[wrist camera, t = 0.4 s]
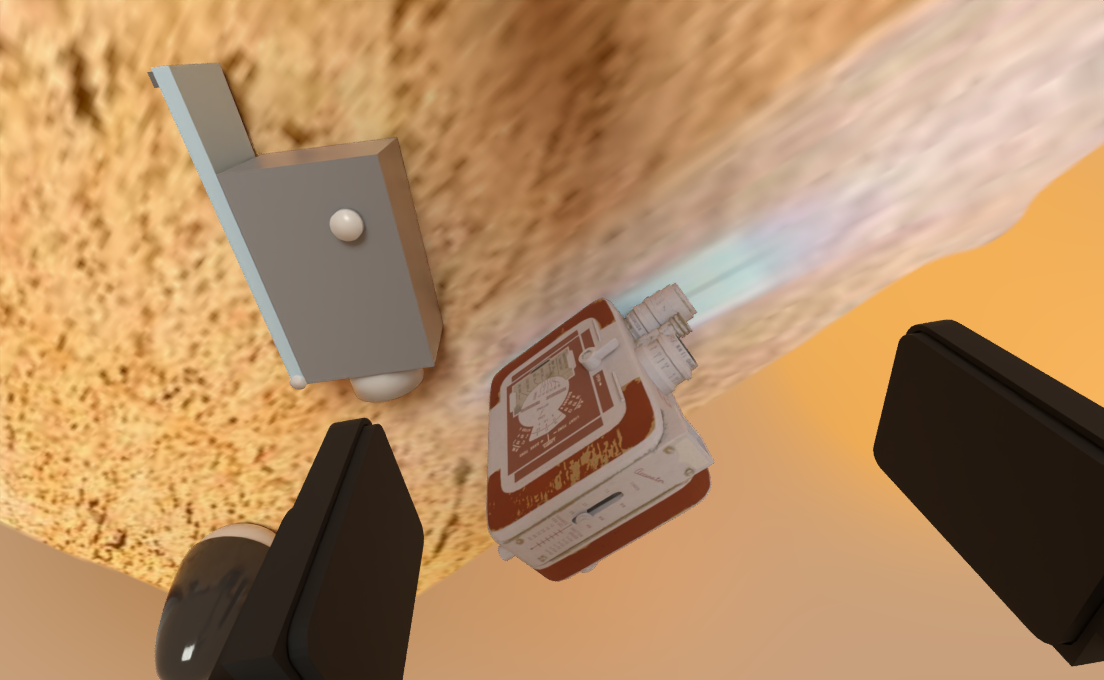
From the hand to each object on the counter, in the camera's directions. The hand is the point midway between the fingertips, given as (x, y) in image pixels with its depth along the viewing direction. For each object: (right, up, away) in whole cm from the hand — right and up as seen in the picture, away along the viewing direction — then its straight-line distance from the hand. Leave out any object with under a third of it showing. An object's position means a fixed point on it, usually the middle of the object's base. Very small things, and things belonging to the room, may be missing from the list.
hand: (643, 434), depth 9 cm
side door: (-23, +11, +30) cm, 40 cm away
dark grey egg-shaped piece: (-36, -21, +48) cm, 63 cm away
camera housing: (-17, +8, +33) cm, 38 cm away
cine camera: (+2, +2, +39) cm, 39 cm away
